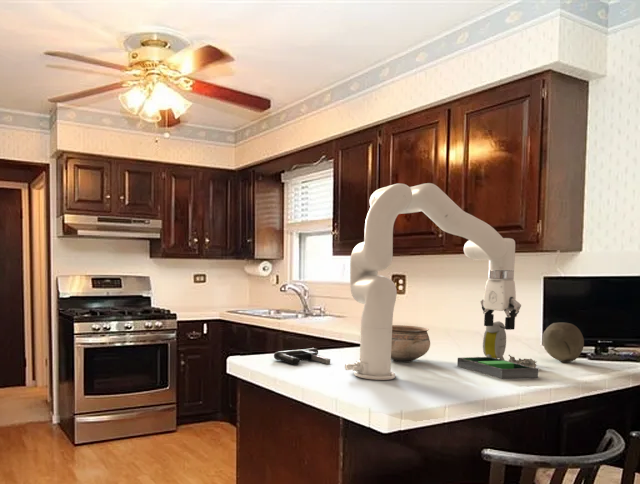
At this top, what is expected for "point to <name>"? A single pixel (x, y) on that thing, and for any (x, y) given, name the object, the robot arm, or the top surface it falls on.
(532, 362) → the grey lumpy piece
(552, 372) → the top surface
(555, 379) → the top surface
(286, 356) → the door handle
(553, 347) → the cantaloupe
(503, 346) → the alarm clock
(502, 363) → the block
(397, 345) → the cooking pot
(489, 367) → the dark grey tray
